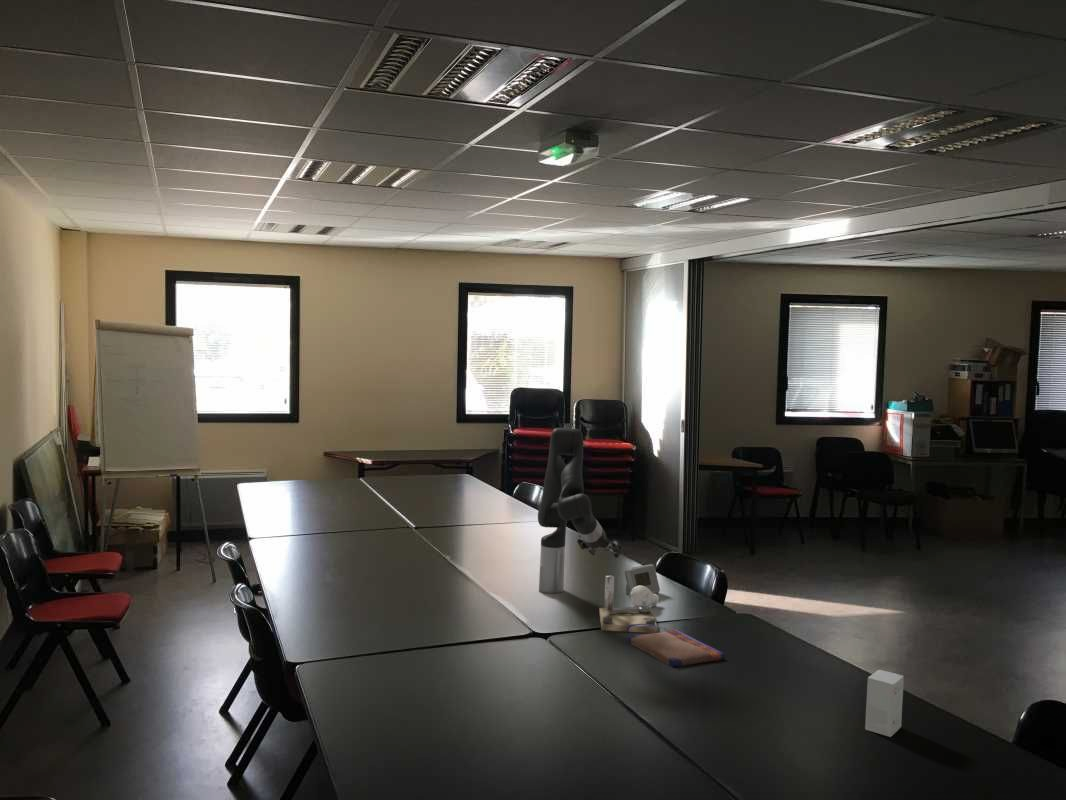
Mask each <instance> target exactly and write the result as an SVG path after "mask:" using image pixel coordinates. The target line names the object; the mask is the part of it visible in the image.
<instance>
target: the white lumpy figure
mask: <svg viewBox="0 0 1066 800" xmlns="http://www.w3.org/2000/svg"><path fill="white" fill-rule="evenodd" d="M630 595H631V598H630V600H631V604H632V607H637V606H639V605H643V604H645V606H650V605H651V606H650V607H656V606H657V605H658V603H659V601H660V598H659V596H658V595H657V593H656V594H653V593H652V592H651V591H650V590H649V589H648V588H647V587H645V586H642V585H638V586H636V587H634V588H633V589H632V592H631V593H630Z"/></svg>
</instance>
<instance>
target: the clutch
mask: <svg viewBox="0 0 1066 800" xmlns="http://www.w3.org/2000/svg"><path fill="white" fill-rule="evenodd" d="M636 625H649V626H656V625H650V624H632V625H629V626H628V627H627V631H626V632H628V633H629V634H630V635H633V636H628V637H627V643H628V645H631V646H634V647H635V648H637V649H639V650H641V651H643V652H645V653H647V654H649V655H651V656H653V657H654V658H655V659H657V660H659V661H660V662H662V663H664V664H666V665H668V666H669V667H671V668H677V667H683V666H684V667H685V666H689V665H696V664H701V663H708V662H715V661H717V662H718V661H723V660H725V654H724V652H722V651H720V650H718V649H717V648H714V647H712V646H710V645H708V644H706V643H703V642H702V641H700V640H697V639H695V638H694V637H692V636H690V635H688V634H686V633H684V632H682V631H679V630H678V629H668V628H664V627H662V626H660V625H657V626H656V627H657V628H660V629H663V630H665V631H663V632H657V633H643V634H640V633H639V634H638V633H637V634H636V633H633V632H629V628H630V627H632V626H636Z"/></svg>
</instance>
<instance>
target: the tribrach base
mask: <svg viewBox="0 0 1066 800" xmlns="http://www.w3.org/2000/svg"><path fill="white" fill-rule="evenodd" d="M598 614H599V621H600V630H601V631H607V632H608V631H610V632H611V631H613V632H628V631H627V627H628V626H629V625H632V624H650V625H656V626H658V625H657V622H656V621H657V620H656V618H655V617H654V616H655V615H654V613H653V610H652V609H651V612H650V613H640V612H633V613H614V614H609V613H608V612H607V610H604V607H599V612H598ZM656 626H649V625H636V626H632V627H630V628H629V632H628V633H649V634H652V633H658V627H656Z"/></svg>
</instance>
